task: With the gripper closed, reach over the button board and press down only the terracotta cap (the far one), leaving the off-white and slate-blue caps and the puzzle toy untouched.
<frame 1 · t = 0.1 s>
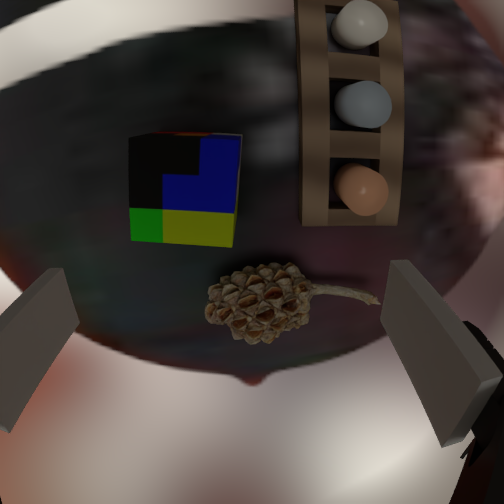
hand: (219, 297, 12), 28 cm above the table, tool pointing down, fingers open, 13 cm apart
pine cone: (290, 279, 44), on the table
offwhite cap: (358, 25, 26), point 5 cm above the table, slide at 0.0 cm
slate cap: (361, 104, 30), point 5 cm above the table, slide at 0.0 cm
puzzle toy: (198, 173, 38), on the table
button board: (348, 105, 34), on the table
terracotta cap: (359, 187, 33), point 5 cm above the table, slide at 0.0 cm
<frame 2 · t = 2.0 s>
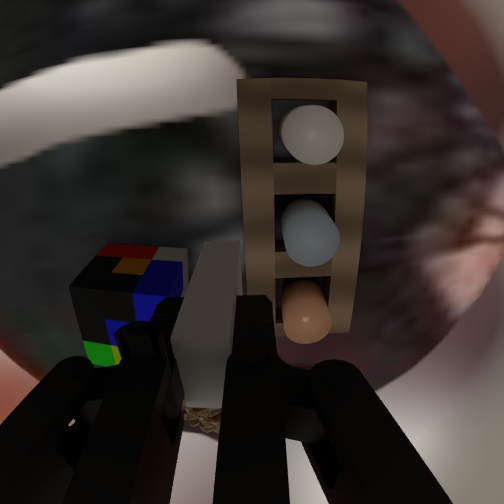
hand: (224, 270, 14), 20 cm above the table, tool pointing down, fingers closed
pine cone: (246, 368, 44), on the table
offwhite cap: (309, 132, 26), point 5 cm above the table, slide at 0.0 cm
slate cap: (308, 230, 30), point 5 cm above the table, slide at 0.0 cm
puzzle toy: (149, 282, 38), on the table
button board: (300, 213, 34), on the table
terracotta cap: (304, 311, 34), point 5 cm above the table, slide at 0.0 cm
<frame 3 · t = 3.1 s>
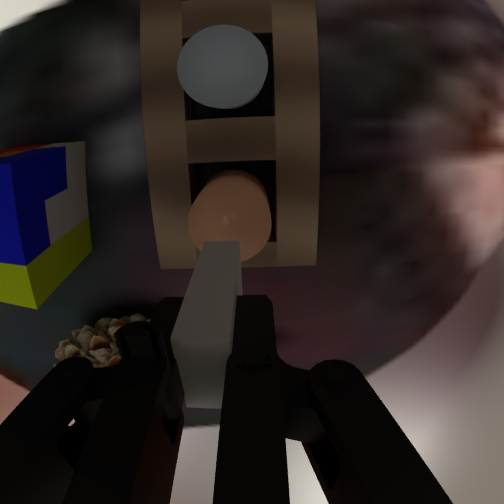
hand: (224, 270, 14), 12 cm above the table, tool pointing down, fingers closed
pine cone: (174, 331, 31), on the table
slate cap: (225, 70, 17), point 5 cm above the table, slide at 0.0 cm
puzzle toy: (45, 196, 26), on the table
button board: (231, 79, 22), on the table
terracotta cap: (231, 212, 21), point 5 cm above the table, slide at 0.0 cm
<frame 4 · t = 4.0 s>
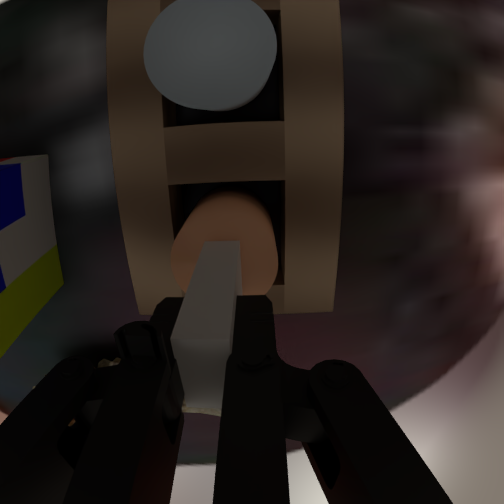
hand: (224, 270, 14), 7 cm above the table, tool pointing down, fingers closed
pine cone: (163, 374, 26), on the table
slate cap: (216, 57, 12), point 5 cm above the table, slide at 0.0 cm
puzzle toy: (9, 219, 20), on the table
button board: (225, 72, 17), on the table
terracotta cap: (227, 242, 17), point 4 cm above the table, slide at 1.2 cm, touching gripper
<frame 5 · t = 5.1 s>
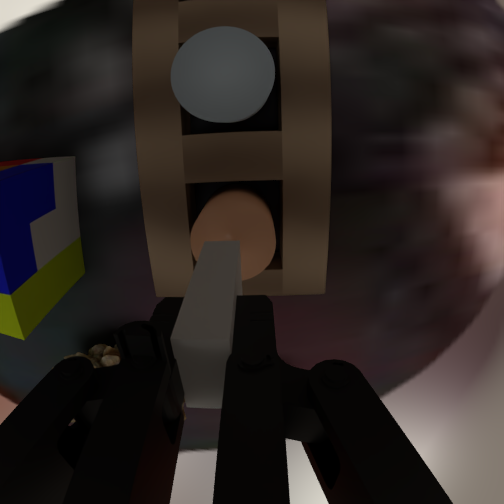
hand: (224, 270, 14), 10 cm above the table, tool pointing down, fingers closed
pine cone: (173, 357, 29), on the table
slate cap: (226, 79, 15), point 5 cm above the table, slide at 0.0 cm
puzzle toy: (35, 214, 24), on the table
button board: (232, 89, 20), on the table
terracotta cap: (235, 228, 21), point 3 cm above the table, slide at 1.8 cm
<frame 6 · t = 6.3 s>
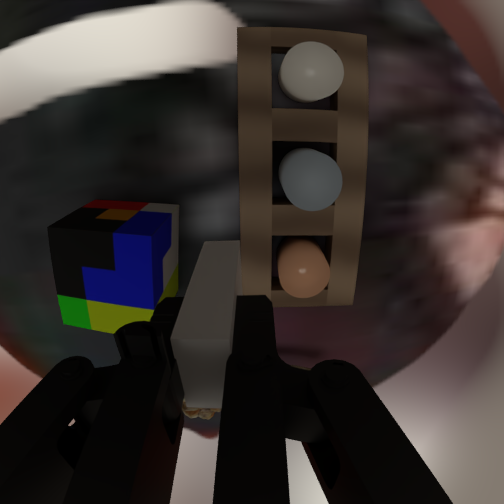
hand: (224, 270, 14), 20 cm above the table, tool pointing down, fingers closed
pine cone: (238, 350, 41), on the table
offwhite cap: (308, 74, 24), point 5 cm above the table, slide at 0.0 cm
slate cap: (308, 176, 27), point 5 cm above the table, slide at 0.0 cm
puzzle toy: (136, 244, 35), on the table
button board: (300, 169, 32), on the table
terracotta cap: (301, 264, 32), point 3 cm above the table, slide at 1.8 cm
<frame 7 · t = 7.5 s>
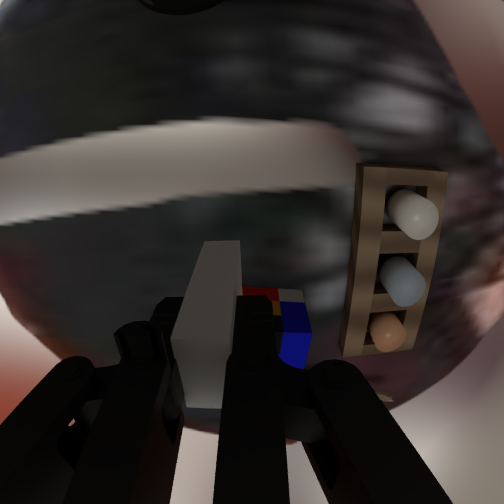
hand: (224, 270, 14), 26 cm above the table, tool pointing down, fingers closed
offwhite cap: (412, 213, 35), point 5 cm above the table, slide at 0.0 cm
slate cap: (401, 280, 39), point 5 cm above the table, slide at 0.0 cm
puzzle toy: (262, 316, 47), on the table
button board: (388, 264, 43), on the table
terracotta cap: (385, 328, 44), point 3 cm above the table, slide at 1.8 cm
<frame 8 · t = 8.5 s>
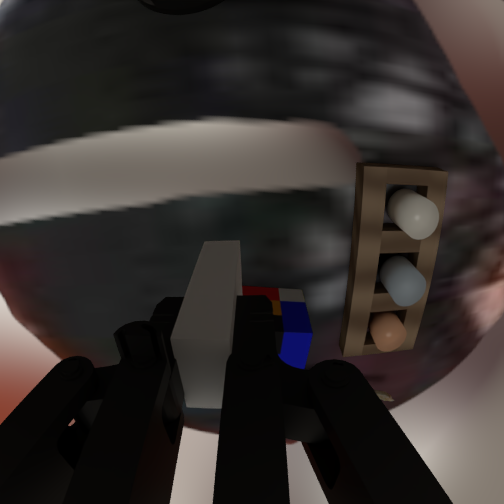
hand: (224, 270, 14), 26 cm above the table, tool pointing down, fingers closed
offwhite cap: (412, 213, 35), point 5 cm above the table, slide at 0.0 cm
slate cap: (402, 280, 39), point 5 cm above the table, slide at 0.0 cm
puzzle toy: (262, 316, 47), on the table
button board: (388, 263, 43), on the table
terracotta cap: (386, 328, 44), point 3 cm above the table, slide at 1.8 cm
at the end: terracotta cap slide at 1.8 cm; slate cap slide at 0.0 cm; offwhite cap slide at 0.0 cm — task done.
